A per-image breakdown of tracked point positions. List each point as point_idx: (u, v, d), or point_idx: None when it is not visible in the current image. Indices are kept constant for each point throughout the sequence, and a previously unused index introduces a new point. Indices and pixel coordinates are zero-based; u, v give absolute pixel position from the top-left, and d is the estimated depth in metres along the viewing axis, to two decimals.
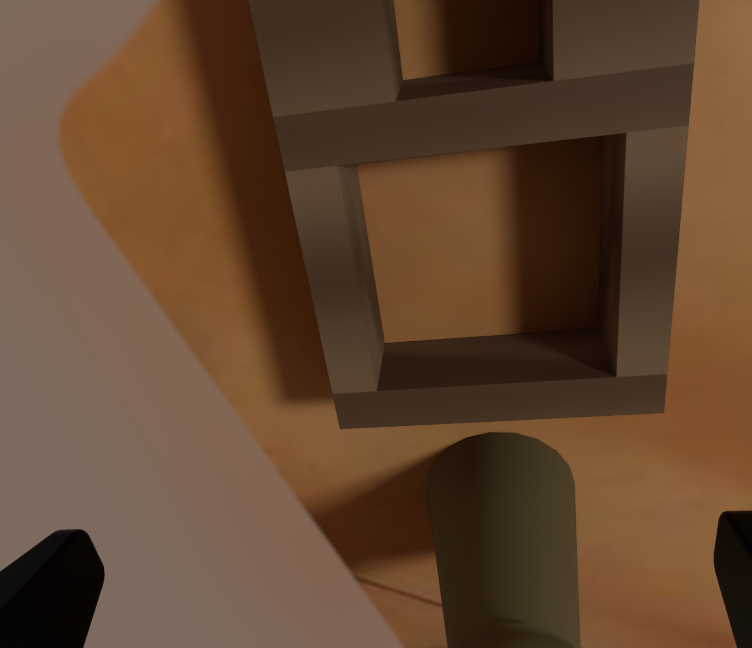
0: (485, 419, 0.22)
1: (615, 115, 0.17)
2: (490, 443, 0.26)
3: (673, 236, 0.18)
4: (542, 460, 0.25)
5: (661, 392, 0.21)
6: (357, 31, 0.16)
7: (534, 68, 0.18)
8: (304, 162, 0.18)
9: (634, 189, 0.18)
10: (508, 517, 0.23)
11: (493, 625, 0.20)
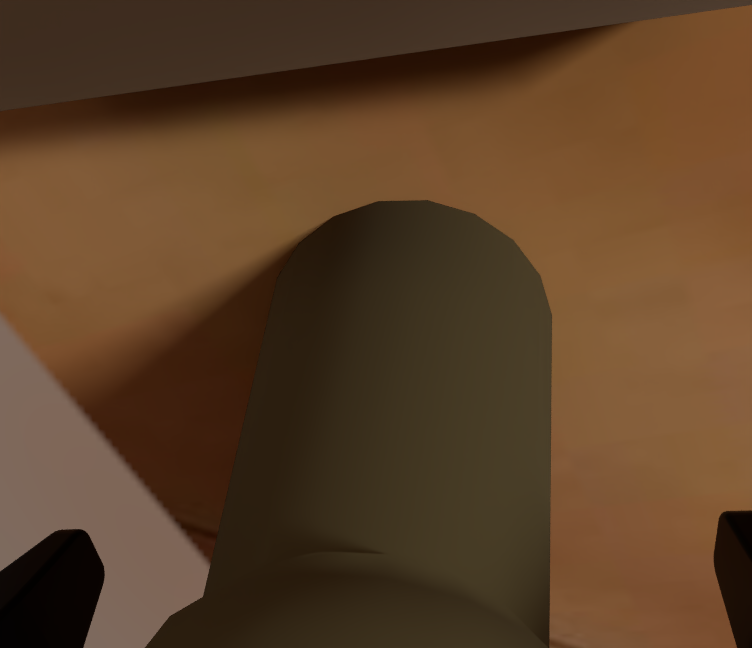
0: (315, 65, 0.09)
1: None
2: (375, 216, 0.12)
3: None
4: (481, 244, 0.12)
5: None
6: None
7: None
8: None
9: None
10: (382, 325, 0.10)
11: (283, 560, 0.07)
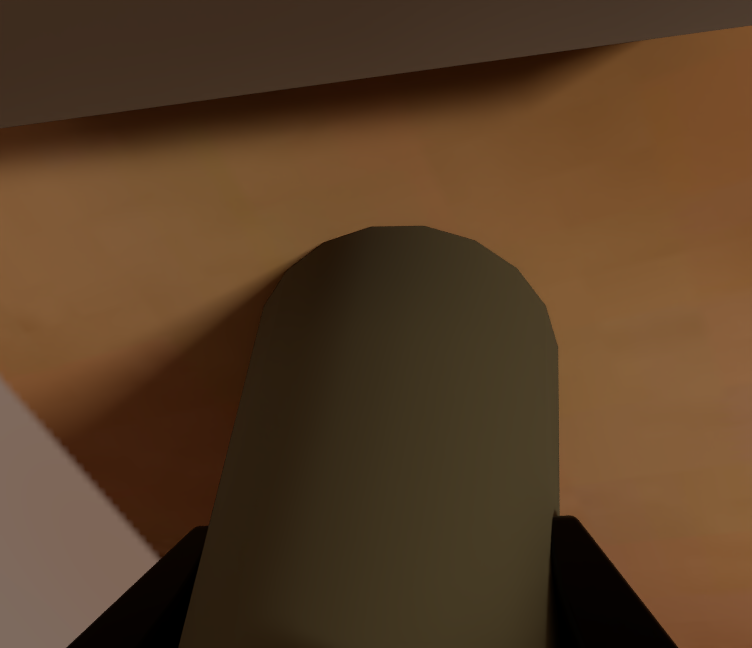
0: (299, 86, 0.08)
1: None
2: (367, 243, 0.11)
3: None
4: (482, 275, 0.11)
5: None
6: None
7: None
8: None
9: None
10: (374, 372, 0.09)
11: None
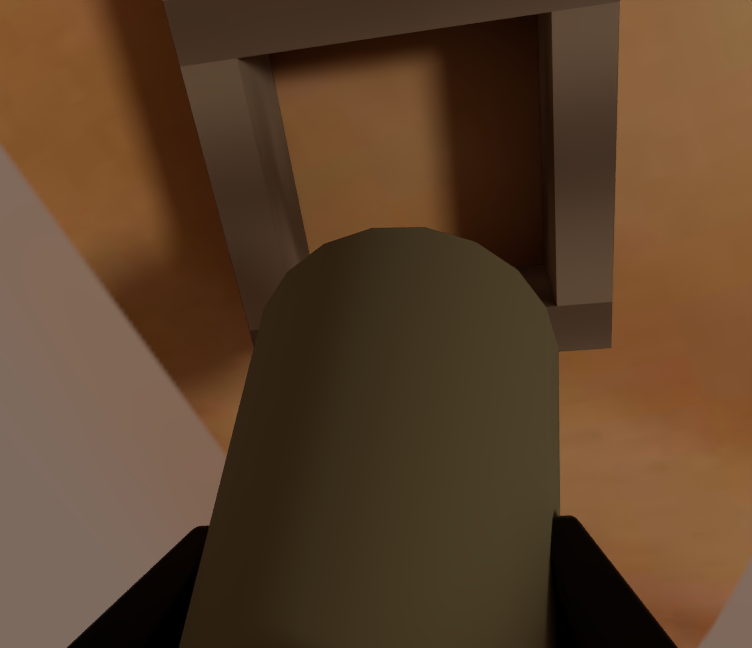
0: None
1: None
2: (368, 245, 0.11)
3: (610, 136, 0.16)
4: (482, 276, 0.11)
5: (607, 323, 0.19)
6: None
7: None
8: (200, 55, 0.16)
9: (563, 79, 0.16)
10: (374, 374, 0.09)
11: None
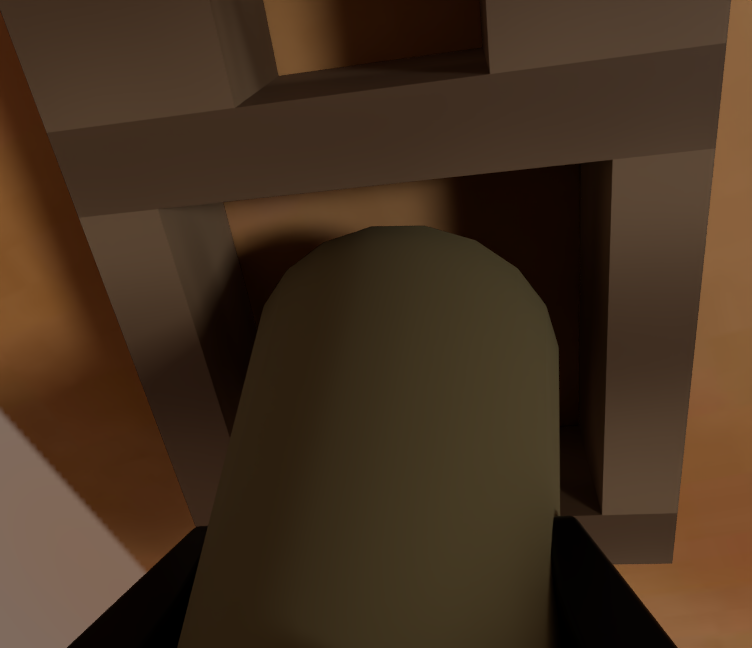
0: None
1: (594, 131, 0.10)
2: (367, 243, 0.11)
3: (689, 321, 0.12)
4: (482, 275, 0.11)
5: (668, 537, 0.14)
6: None
7: (469, 56, 0.12)
8: (106, 203, 0.12)
9: (625, 248, 0.11)
10: (374, 373, 0.09)
11: None
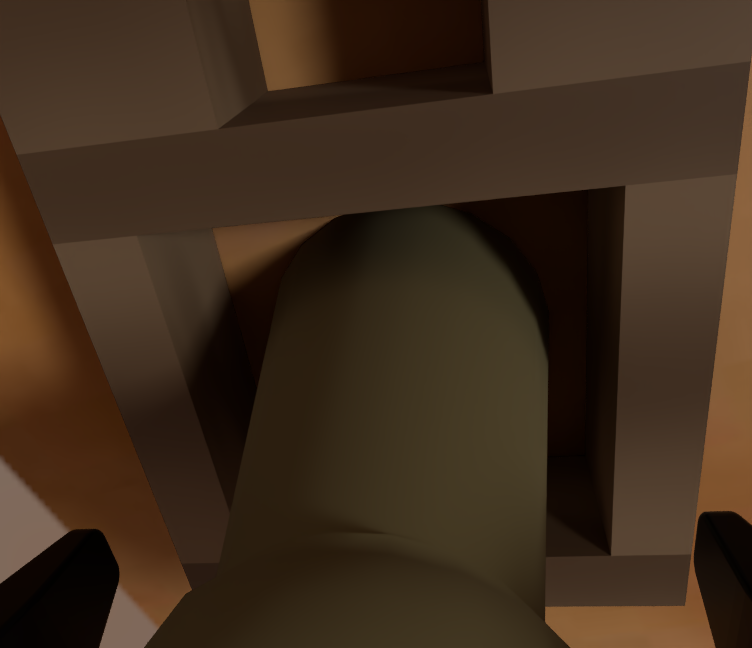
0: None
1: (605, 155, 0.09)
2: (375, 216, 0.13)
3: (706, 355, 0.11)
4: (478, 243, 0.12)
5: (681, 579, 0.13)
6: (135, 4, 0.09)
7: (471, 72, 0.11)
8: (81, 229, 0.11)
9: (638, 279, 0.10)
10: (384, 320, 0.10)
11: (292, 541, 0.07)
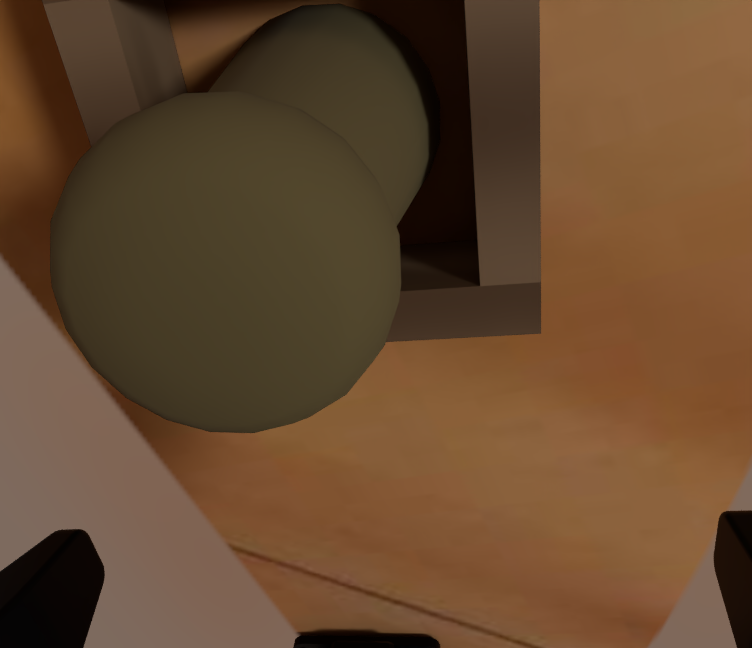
0: None
1: None
2: (297, 12, 0.16)
3: (533, 93, 0.14)
4: (375, 29, 0.16)
5: (535, 306, 0.17)
6: None
7: None
8: None
9: (478, 25, 0.14)
10: (287, 48, 0.14)
11: None
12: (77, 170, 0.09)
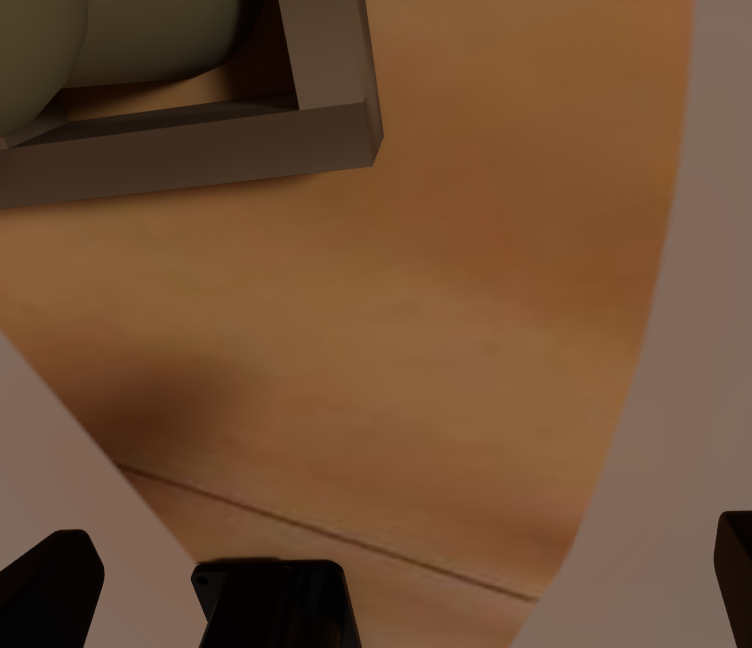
0: (155, 190, 0.17)
1: None
2: None
3: None
4: None
5: (361, 132, 0.15)
6: None
7: None
8: None
9: None
10: None
11: None
12: None
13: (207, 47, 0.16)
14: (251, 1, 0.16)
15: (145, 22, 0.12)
